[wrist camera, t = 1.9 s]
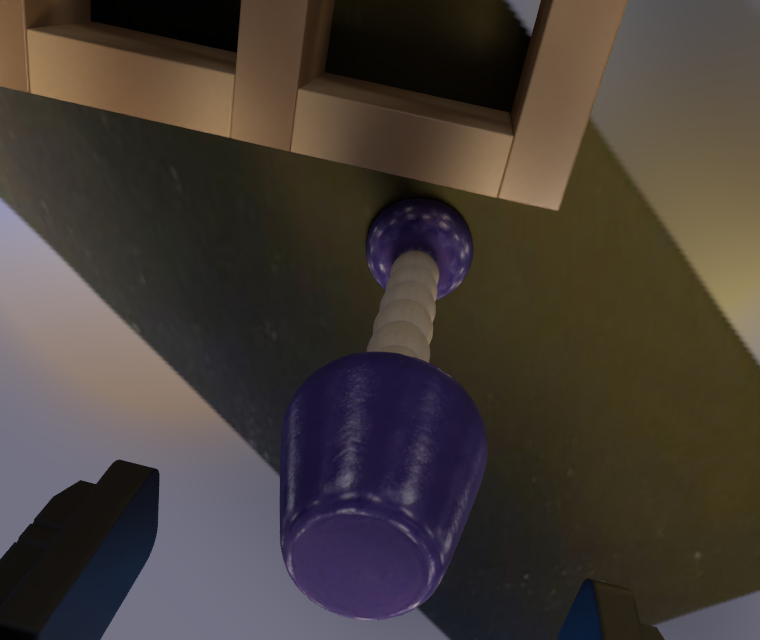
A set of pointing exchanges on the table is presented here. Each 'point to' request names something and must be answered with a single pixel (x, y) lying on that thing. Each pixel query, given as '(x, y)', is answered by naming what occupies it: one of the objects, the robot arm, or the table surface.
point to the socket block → (326, 91)
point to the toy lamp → (385, 437)
